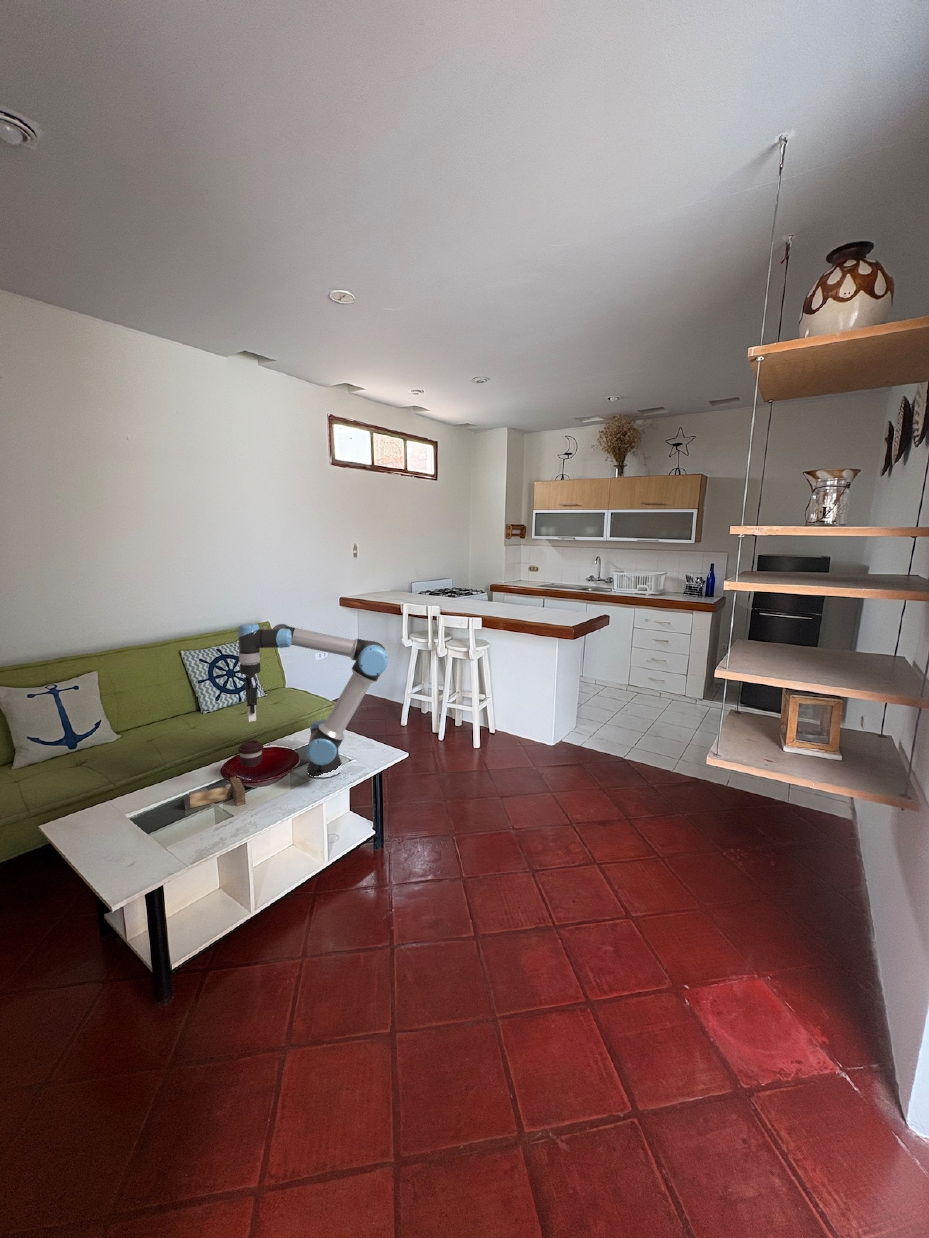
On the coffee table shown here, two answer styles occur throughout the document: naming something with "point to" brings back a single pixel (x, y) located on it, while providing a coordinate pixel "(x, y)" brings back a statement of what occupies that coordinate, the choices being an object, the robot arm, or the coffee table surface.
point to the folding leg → (207, 797)
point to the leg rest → (197, 791)
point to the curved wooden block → (237, 791)
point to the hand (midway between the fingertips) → (252, 720)
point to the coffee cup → (250, 753)
